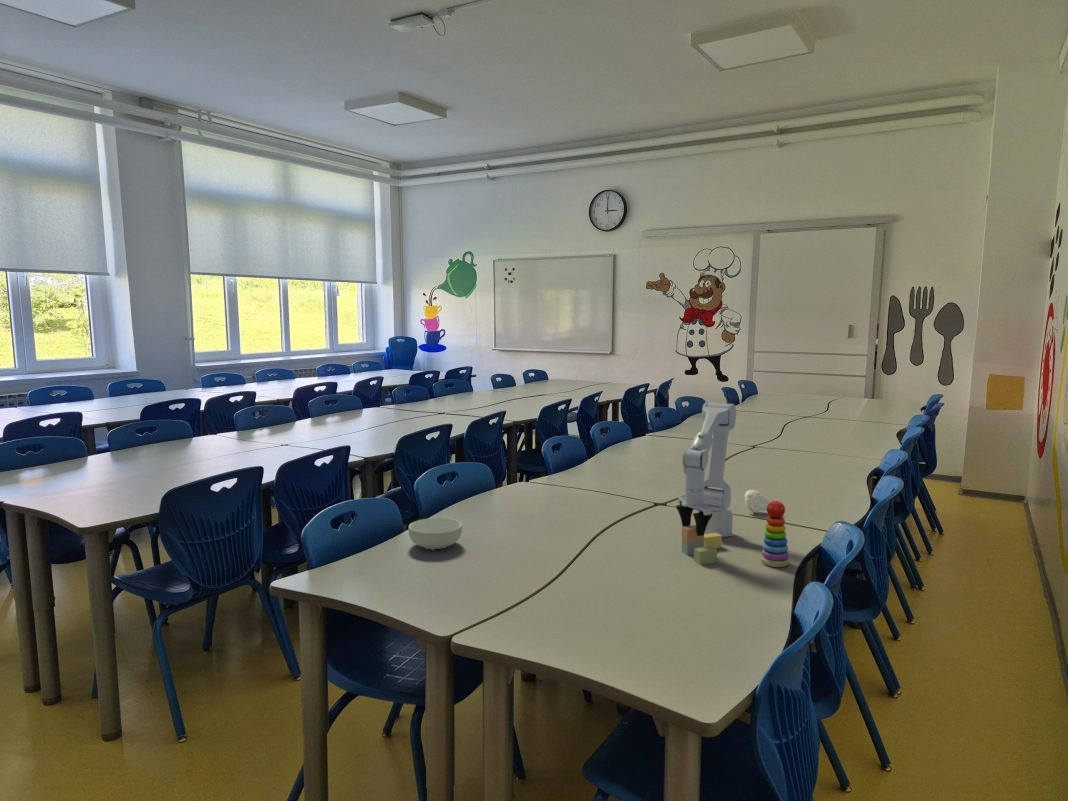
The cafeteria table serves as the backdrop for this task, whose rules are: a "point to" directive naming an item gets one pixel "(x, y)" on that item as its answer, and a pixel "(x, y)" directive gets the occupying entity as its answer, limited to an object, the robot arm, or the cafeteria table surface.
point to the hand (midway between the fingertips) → (693, 531)
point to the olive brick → (705, 555)
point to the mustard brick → (713, 540)
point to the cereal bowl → (435, 532)
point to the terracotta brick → (690, 534)
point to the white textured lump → (755, 501)
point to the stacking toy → (775, 537)
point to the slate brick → (691, 546)
